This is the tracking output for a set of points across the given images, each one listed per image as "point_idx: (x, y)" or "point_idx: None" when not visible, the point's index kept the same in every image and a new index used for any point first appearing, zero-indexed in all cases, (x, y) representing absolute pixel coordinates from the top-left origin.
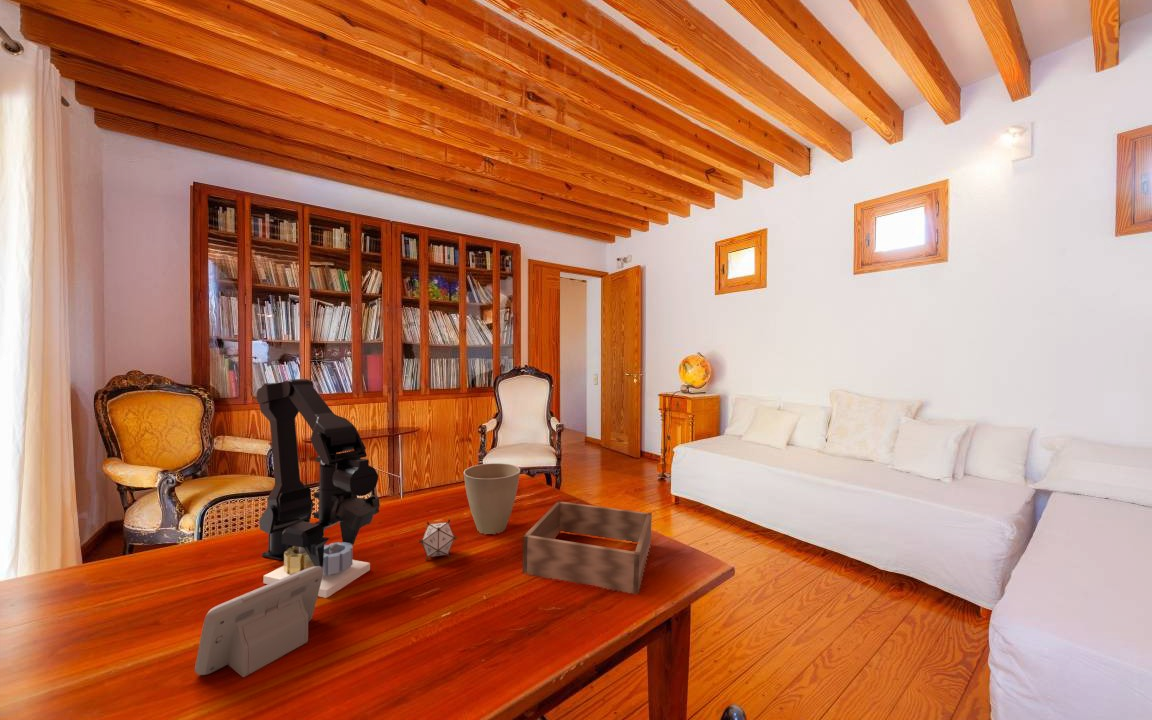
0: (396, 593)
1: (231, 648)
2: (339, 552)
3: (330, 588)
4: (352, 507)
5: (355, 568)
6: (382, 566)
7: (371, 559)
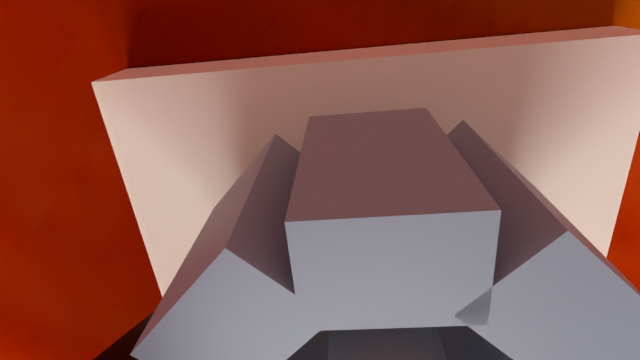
0: None
1: None
2: (461, 316)
3: (606, 36)
4: None
5: (235, 125)
6: (18, 13)
7: (27, 194)
